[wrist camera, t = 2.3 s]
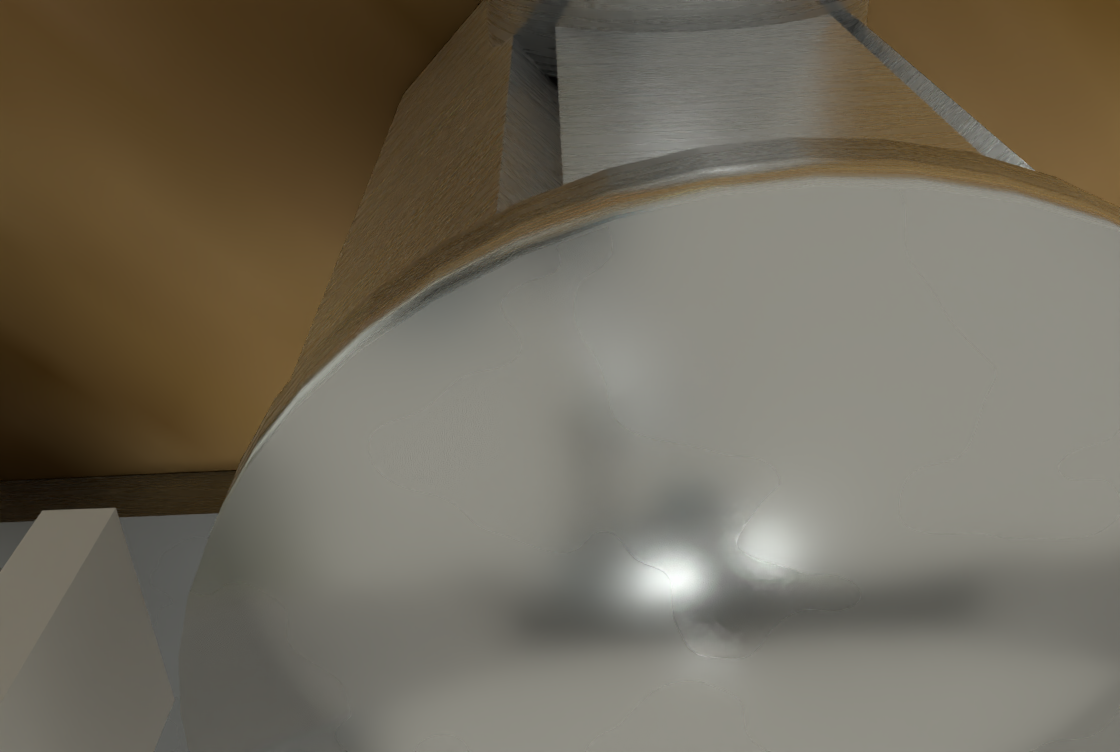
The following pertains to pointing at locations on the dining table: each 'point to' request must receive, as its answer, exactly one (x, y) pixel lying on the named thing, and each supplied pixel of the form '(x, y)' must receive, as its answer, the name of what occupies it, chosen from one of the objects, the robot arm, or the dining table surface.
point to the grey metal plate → (137, 544)
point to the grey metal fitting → (683, 417)
